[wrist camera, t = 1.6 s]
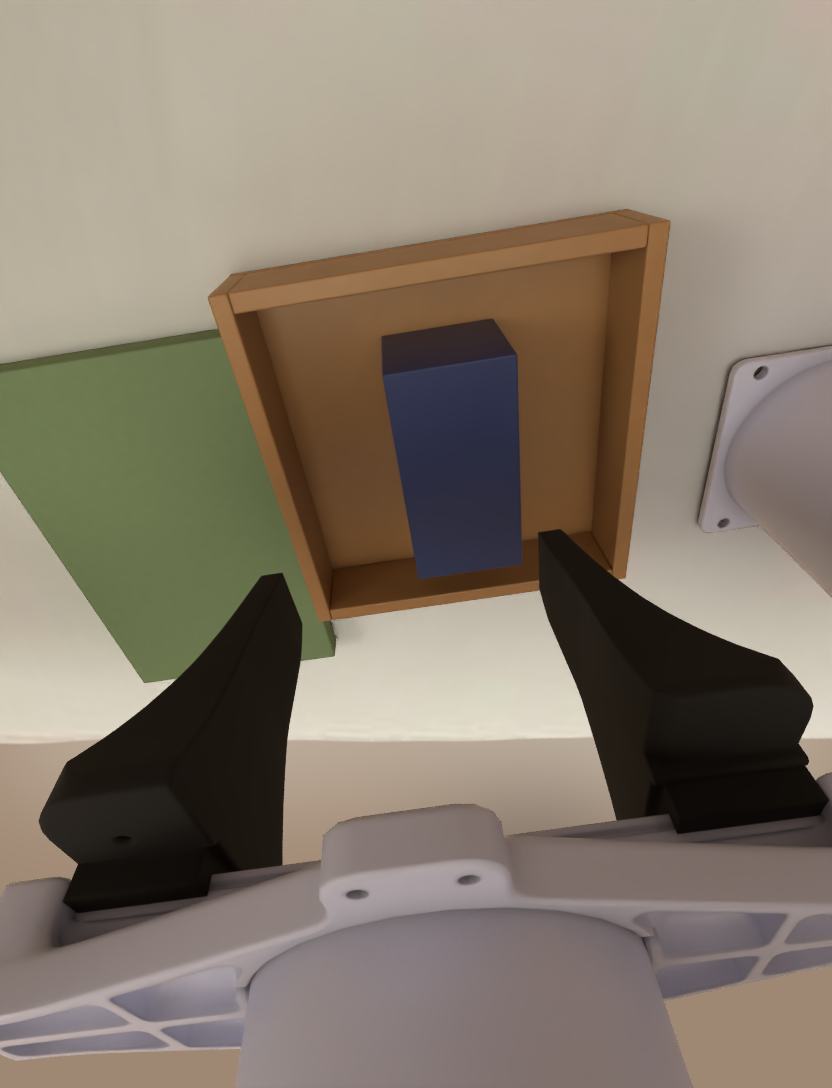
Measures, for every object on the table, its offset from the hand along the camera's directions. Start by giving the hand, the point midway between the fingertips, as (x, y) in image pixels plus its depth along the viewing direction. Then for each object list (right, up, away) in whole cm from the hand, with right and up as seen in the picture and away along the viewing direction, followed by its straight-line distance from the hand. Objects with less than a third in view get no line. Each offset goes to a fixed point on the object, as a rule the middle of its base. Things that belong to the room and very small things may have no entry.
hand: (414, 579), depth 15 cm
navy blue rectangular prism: (+1, +5, +6) cm, 8 cm away
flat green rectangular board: (-10, +2, +9) cm, 13 cm away
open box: (+1, +6, +7) cm, 9 cm away
